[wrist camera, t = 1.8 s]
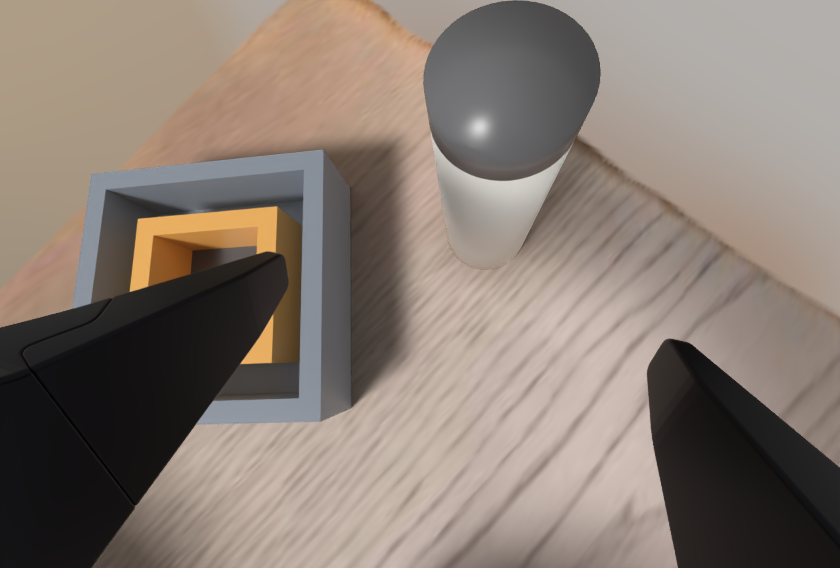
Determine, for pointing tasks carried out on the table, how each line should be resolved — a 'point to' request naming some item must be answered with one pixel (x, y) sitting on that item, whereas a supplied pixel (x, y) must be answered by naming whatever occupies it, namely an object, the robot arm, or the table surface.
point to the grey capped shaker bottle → (504, 120)
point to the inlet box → (232, 240)
